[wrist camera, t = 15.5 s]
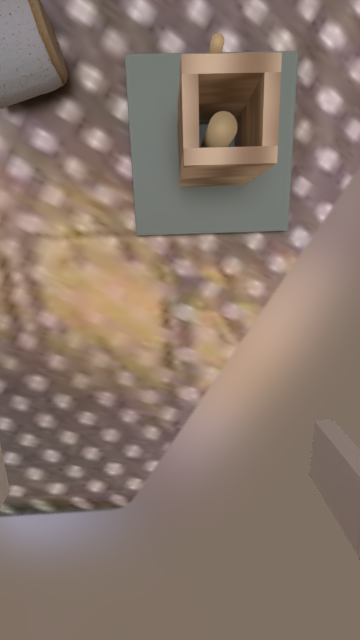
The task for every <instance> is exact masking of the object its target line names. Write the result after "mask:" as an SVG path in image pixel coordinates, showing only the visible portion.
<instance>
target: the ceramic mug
mask: <svg viewBox="0 0 360 640" xmlns="http://www.w3.org/2000/svg"><path fill="white" fill-rule="evenodd" d="M67 78H68V73H67V69H66V66H65V62H64V59H63V56H62V53H61V50H60V47H59V45H58V42H57V39H56V36H55V34H54V31H53V28H52V26H51V23H50V21H49V19H48V16H47V14H46V11H45V9H44V7H43V5H42V3H41V1H40V0H0V108H1V109H2V108H5V107H7V106H10V105H13V104H16V103H19V102H22V101H25V100H28V99H30V98H33V97H36V96H39V95H42V94H45V93H49V92H51V91H54V90H56V89H58V88H59V87H61V86H63V85H64V84H65V83H66V82H67Z"/></svg>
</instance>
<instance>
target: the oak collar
mask: <svg viewBox="0 0 360 640" xmlns="http://www.w3.org/2000/svg"><path fill="white" fill-rule="evenodd" d="M281 62H282V52H279V53H223V54H181V62H180V77H179V91H178V106H177V126H178V159H179V187H197V186H231V185H246V184H247V183H249V182H250V181H252V180H253V179H255V178H256V177H257V176H259V175H260V174H262V173H263V172H265V171H266V170H268V169H269V168H271V167H272V166H274V165H275V164H276V163H277V154H278V131H279V108H280V85H281ZM220 111H227V112H229V113H231V114H232V115H233V116H234V117H235V119H236V121H237V133H236V135H235V140H234V147H212V148H199V125H204V124H209V122H210V119H211V118H212V116H213V115H214V114H216V113H217V112H220Z"/></svg>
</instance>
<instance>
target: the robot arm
mask: <svg viewBox="0 0 360 640" xmlns="http://www.w3.org/2000/svg"><path fill="white" fill-rule="evenodd" d="M309 475H310V477H311V479H312V480H313V482H314V484H315V485H316V487H317V489H318V490H319V492H320V494H321V496H322V497H323V499H324V500H325V502H326V504H327V506H328V507H329V509H330V511H331V512H332V514H333V516H334V517H335V519H336V521H337V522H338V524H339V526H340V527H341V529H342V531H343V532H344V534H345V536H346V537H347V539H348V541H349V542H350V544H351V546H352V548H353V549H354V551H355V552H356V554H357V556H358V558H359V559H360V450H359V449H358V448H357V447H356V445H355V444H354V443H353V442H352V441H351V440H350V439H349V438H348V437H347V436H346V434H345V433H344V432H343V431H342V430H341V429H340V428H339V427H338V425H337V424H336V423H335V422H334V421H333V420H315V421H314V431H313V442H312V451H311V462H310V472H309ZM9 492H10V489H9V484H8V479H7V474H6V470H5V465H4V460H3V455H2V450H1V445H0V507H1V505H2V503H3V502H4V500H5V499H6V497H7V495H8V494H9Z"/></svg>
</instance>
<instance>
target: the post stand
mask: <svg viewBox="0 0 360 640" xmlns="http://www.w3.org/2000/svg"><path fill="white" fill-rule="evenodd" d="M223 45H224V37H223V35H222V34H220V33H216V34H214V35H213V37H212V39H211V44H210V49H209V53H167V54H125V66H126V81H127V97H128V112H129V127H130V143H131V158H132V174H133V189H134V205H135V220H136V235H137V236H141V235H172V234H203V233H234V232H264V231H288V223H289V205H290V186H291V168H292V150H293V132H294V114H295V96H296V78H297V59H298V51H284V52H282V62H281V85H280V108H279V131H278V154H277V163H276V164H275V165H274V166H272V167H271V168H269V169H268V170H266V171H265V172H263V173H262V174H260V175H259V176H257V177H256V178H255V179H253V180H252V181H250V182H249V183H247V184H246V185H231V186H197V187H179V159H178V126H177V106H178V91H179V77H180V62H181V54H223V53H221V52H222V48H223ZM225 53H279V52H225ZM236 133H237V121H236V119H235V117H234V116H233V115H232V114H231V113H229V112H227V111H220V112H217V113H216V114H214V115H213V116H212V118H211V119H210V122H209V124H204V125H199V148H212V147H234V140H235V135H236Z"/></svg>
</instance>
